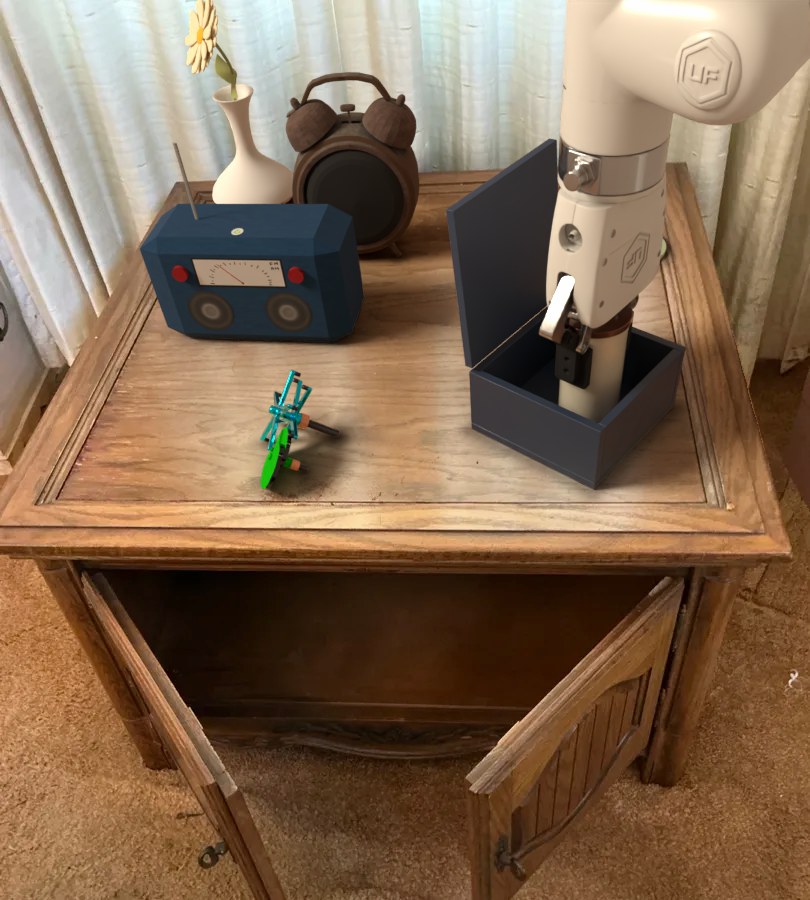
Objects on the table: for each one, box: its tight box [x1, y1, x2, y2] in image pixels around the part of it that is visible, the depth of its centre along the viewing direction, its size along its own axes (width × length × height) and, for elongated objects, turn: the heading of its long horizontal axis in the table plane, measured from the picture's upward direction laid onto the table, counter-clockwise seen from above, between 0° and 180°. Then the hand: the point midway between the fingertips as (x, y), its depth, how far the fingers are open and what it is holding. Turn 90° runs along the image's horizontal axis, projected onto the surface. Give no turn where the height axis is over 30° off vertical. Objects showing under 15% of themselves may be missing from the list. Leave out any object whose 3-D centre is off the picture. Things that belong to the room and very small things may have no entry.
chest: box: [468, 306, 687, 490], centre depth 77 cm, size 14×14×7 cm
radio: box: [139, 142, 365, 343], centre depth 87 cm, size 21×9×20 cm, turn 80°
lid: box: [445, 138, 559, 369], centre depth 73 cm, size 14×14×1 cm
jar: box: [558, 303, 634, 423], centre depth 74 cm, size 6×6×12 cm
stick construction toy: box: [259, 369, 341, 491], centre depth 79 cm, size 12×7×8 cm
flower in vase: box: [184, 0, 294, 204], centre depth 103 cm, size 13×11×25 cm
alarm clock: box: [285, 71, 420, 258], centre depth 95 cm, size 15×7×20 cm, turn 86°
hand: (592, 361), depth 74 cm, fingers closed on jar, 5 cm apart
